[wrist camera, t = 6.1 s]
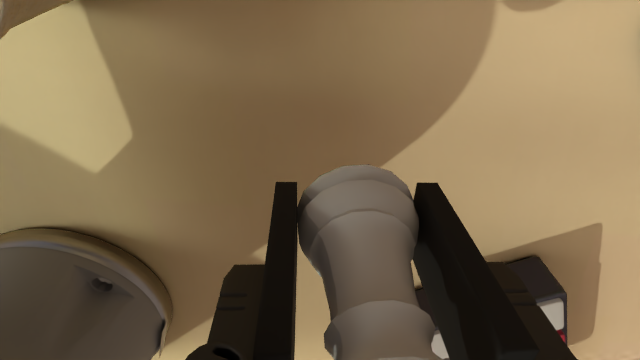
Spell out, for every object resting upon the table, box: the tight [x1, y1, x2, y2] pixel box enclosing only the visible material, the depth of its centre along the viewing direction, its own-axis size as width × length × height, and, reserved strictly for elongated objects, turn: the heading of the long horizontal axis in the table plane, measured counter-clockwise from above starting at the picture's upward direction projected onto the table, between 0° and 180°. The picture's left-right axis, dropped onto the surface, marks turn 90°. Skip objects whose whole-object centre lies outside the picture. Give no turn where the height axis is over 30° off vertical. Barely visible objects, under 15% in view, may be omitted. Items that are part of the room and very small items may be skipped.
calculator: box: [415, 256, 567, 360], centre depth 30 cm, size 11×4×15 cm
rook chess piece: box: [297, 165, 443, 360], centre depth 10 cm, size 4×4×8 cm
